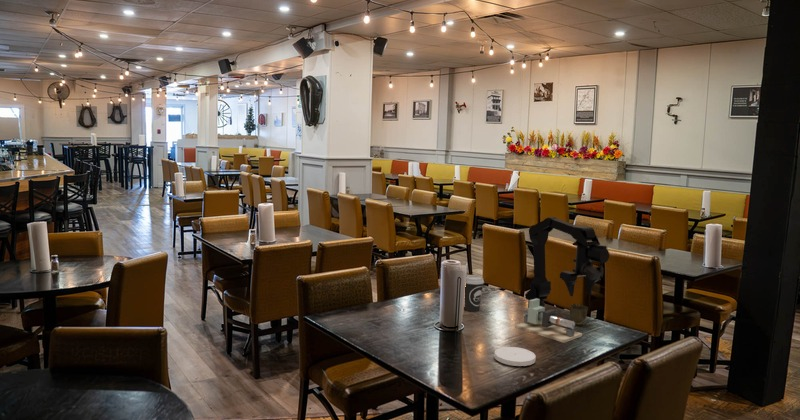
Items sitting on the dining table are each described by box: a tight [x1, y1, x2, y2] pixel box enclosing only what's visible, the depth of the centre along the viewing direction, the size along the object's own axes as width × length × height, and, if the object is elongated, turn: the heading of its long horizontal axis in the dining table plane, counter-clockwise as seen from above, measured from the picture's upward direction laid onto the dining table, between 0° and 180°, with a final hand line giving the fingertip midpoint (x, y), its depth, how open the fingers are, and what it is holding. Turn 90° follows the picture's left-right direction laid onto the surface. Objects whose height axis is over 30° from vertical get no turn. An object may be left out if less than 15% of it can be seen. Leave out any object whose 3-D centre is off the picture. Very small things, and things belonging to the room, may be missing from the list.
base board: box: [514, 321, 583, 344], centre depth 231 cm, size 23×13×1 cm, turn 42°
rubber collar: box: [542, 308, 556, 327], centre depth 230 cm, size 2×6×6 cm, turn 132°
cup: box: [569, 303, 589, 327], centre depth 240 cm, size 8×7×8 cm
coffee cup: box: [464, 274, 485, 313], centre depth 257 cm, size 10×10×15 cm
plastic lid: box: [493, 346, 537, 367], centre depth 199 cm, size 14×14×2 cm
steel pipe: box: [523, 307, 576, 337], centre depth 230 cm, size 22×3×6 cm, turn 42°
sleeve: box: [527, 298, 546, 324], centre depth 234 cm, size 4×6×9 cm, turn 132°
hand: (580, 295), depth 235 cm, fingers open, 9 cm apart
